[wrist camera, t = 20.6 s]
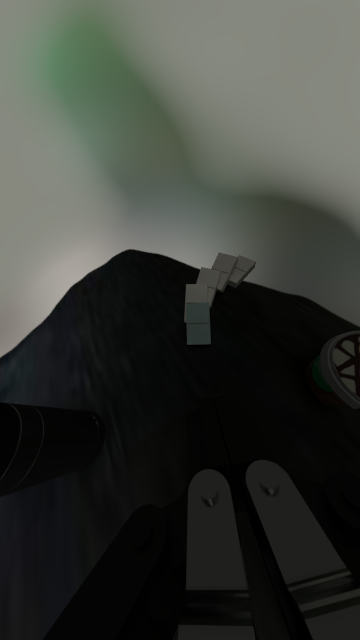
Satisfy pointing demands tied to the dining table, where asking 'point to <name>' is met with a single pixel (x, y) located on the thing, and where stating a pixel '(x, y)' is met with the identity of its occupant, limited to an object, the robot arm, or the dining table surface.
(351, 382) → the food container
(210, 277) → the domino
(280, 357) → the dining table surface
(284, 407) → the dining table surface
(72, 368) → the dining table surface
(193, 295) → the domino
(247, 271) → the domino
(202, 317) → the domino
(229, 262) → the domino
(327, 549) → the robot arm
